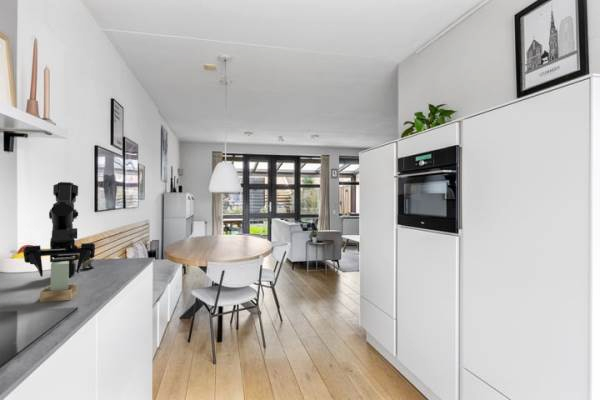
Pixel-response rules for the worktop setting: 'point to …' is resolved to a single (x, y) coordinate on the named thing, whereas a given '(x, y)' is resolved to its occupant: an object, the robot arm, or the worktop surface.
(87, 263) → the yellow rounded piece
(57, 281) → the post
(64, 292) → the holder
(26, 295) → the worktop surface
